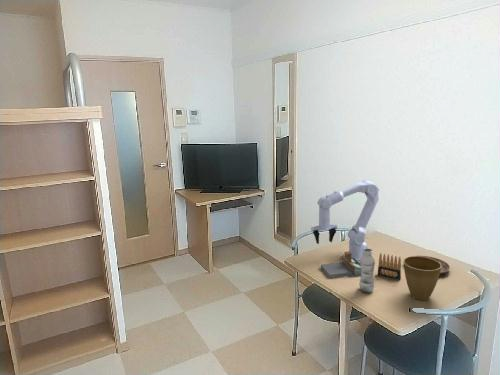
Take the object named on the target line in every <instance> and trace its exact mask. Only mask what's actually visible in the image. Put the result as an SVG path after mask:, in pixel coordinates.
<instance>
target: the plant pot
mask: <svg viewBox="0 0 500 375" xmlns="http://www.w3.org/2000/svg"><path fill="white" fill-rule="evenodd" d="M422 256H423V255H411V256H407V257H405V258H403V270H404V275H405V281H406V285H407V288H408V291H409V294H410V296H411V298H413V299H415V300H417V301H427V300H429V299H430V297H431V296H432V294H433V293H434V290H435V289H436V286H437V283H438V281H439V278H440V276H441V275H440V271H441V267H442V265H441V264H440V263H439V262H438V261H436V260H434V259H431V258H427V257H422Z"/></svg>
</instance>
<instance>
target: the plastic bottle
mask: <svg viewBox="0 0 500 375" xmlns="http://www.w3.org/2000/svg"><path fill="white" fill-rule="evenodd" d="M363 254H364V255H363V256H362V257H361V259H360V260H359V262H360V264H361V276H360V280H359V284H358V285H359V286H358V287H359V289H360V290H361V291H362V292H364V293H372V292H373V291H374V290H375V282H374V272H375V271H374V270H375V264H376V261H375V258H374V257H373V249H371V248H368V249H364V252H363Z"/></svg>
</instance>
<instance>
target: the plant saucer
mask: <svg viewBox="0 0 500 375" xmlns="http://www.w3.org/2000/svg"><path fill="white" fill-rule="evenodd" d="M421 256H422V257H427V258H431V259H434V260H436V261H438V262H439V263H440V264H441V265H442V267H441V271H440V275H439V276H442V275H444V274H446V273H448V271H449V270H450V268H451V265H450V264H448V263H447V262H446V261H444V260H442V259H440V258H436V257H433V256H427V255H421Z"/></svg>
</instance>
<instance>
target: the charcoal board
mask: <svg viewBox="0 0 500 375" xmlns="http://www.w3.org/2000/svg"><path fill="white" fill-rule="evenodd" d="M320 269H321V271H323V273H324V274H325V275H326V276H327V277H328V278H329V279H336V278H337V279H339V278H344V277H351V276H354V275H353V272H352V271H351V270H350V269H349V268H348V267H347V266H346V265H345V264H344V263H343V262H342V261H338V262H331V263H323V264H320Z"/></svg>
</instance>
